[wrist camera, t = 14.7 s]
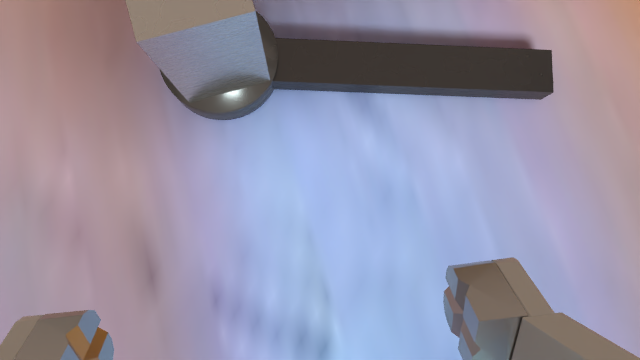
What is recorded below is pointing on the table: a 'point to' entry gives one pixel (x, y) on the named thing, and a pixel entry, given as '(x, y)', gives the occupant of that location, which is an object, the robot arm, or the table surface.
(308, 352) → the table surface
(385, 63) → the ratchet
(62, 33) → the table surface
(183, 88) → the tan wooden block
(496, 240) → the table surface
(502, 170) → the table surface
